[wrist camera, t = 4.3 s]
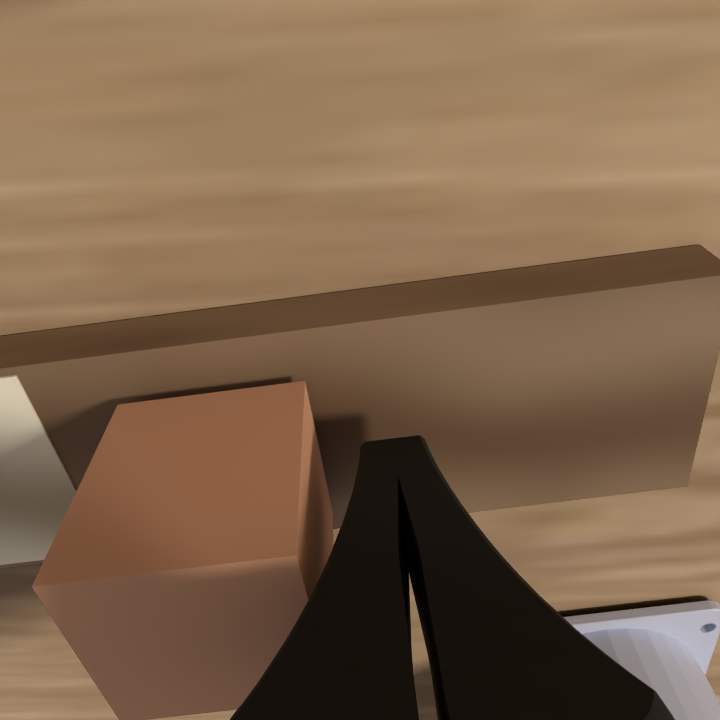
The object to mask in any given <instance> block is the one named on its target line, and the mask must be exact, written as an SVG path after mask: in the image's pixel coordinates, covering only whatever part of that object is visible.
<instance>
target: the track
mask: <svg viewBox="0 0 720 720" xmlns="http://www.w3.org/2000/svg"><path fill="white" fill-rule="evenodd" d="M719 350H720V259H718V258H717V257H716V256H714V255H713V254H712V253H710V252H709V251H708V250H706V249H705V248H704V247H702V246H701V245H692V246H685V247H677V248H669V249H662V250H654V251H646V252H639V253H631V254H624V255H616V256H608V257H601V258H593V259H585V260H578V261H570V262H563V263H555V264H547V265H540V266H532V267H524V268H517V269H509V270H502V271H494V272H486V273H479V274H471V275H463V276H456V277H448V278H440V279H433V280H425V281H418V282H410V283H402V284H395V285H387V286H379V287H372V288H364V289H357V290H349V291H341V292H334V293H326V294H318V295H311V296H303V297H296V298H288V299H280V300H273V301H265V302H257V303H250V304H242V305H235V306H227V307H219V308H212V309H204V310H196V311H189V312H181V313H173V314H166V315H158V316H151V317H143V318H135V319H128V320H120V321H112V322H105V323H97V324H90V325H82V326H74V327H67V328H59V329H51V330H44V331H36V332H29V333H21V334H13V335H6V336H0V569H4V568H12V567H21V566H29V565H37V564H42V563H43V561H44V559H45V557H46V555H47V553H48V551H49V549H50V547H51V544H52V542H53V540H54V538H55V536H56V534H57V532H58V530H59V528H60V525H61V523H62V521H63V519H64V517H65V515H66V513H67V511H68V509H69V506H70V504H71V502H72V500H73V498H74V496H75V494H76V492H77V489H78V487H79V485H80V483H81V481H82V479H83V477H84V475H85V473H86V470H87V468H88V466H89V464H90V462H91V460H92V458H93V456H94V454H95V451H96V449H97V447H98V445H99V443H100V441H101V439H102V437H103V435H104V432H105V430H106V428H107V426H108V424H109V422H110V420H111V418H112V415H113V413H114V411H115V409H116V407H117V405H119V404H126V403H134V402H142V401H150V400H158V399H166V398H174V397H182V396H189V395H197V394H205V393H213V392H221V391H229V390H237V389H244V388H252V387H260V386H268V385H276V384H284V383H292V382H299V381H305V383H306V388H307V392H308V397H309V402H310V407H311V411H312V416H313V421H314V426H315V430H316V435H317V440H318V445H319V450H320V454H321V459H322V464H323V469H324V473H325V478H326V483H327V488H328V492H329V497H330V502H331V507H332V511H333V529H337V528H341V526H342V523H343V520H344V517H345V514H346V511H347V507H348V504H349V501H350V498H351V495H352V491H353V487H354V483H355V479H356V475H357V471H358V465H359V459H360V447H361V445H362V444H363V443H364V442H366V441H375V440H383V439H391V438H400V437H408V436H416V435H420V436H422V437H423V438H425V440H426V443H427V445H428V448H429V450H430V452H431V454H432V456H433V458H434V460H435V462H436V464H437V466H438V468H439V469H440V471H441V473H442V474H443V476H444V478H445V479H446V481H447V483H448V484H449V486H450V487H451V489H452V491H453V492H454V494H455V495H456V496H457V498H458V499H459V501H460V502H461V504H462V505H463V507H464V508H465V510H466V511H467V512H468V513H470V512H478V511H487V510H495V509H503V508H511V507H520V506H528V505H536V504H545V503H553V502H561V501H570V500H578V499H586V498H595V497H603V496H611V495H620V494H628V493H636V492H645V491H653V490H661V489H669V488H678V487H686V486H687V485H688V481H689V477H690V472H691V468H692V464H693V460H694V456H695V451H696V447H697V443H698V439H699V434H700V430H701V426H702V422H703V418H704V413H705V409H706V405H707V401H708V397H709V392H710V388H711V384H712V380H713V376H714V371H715V367H716V363H717V359H718V355H719Z"/></svg>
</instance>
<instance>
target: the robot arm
mask: <svg viewBox="0 0 720 720" xmlns="http://www.w3.org/2000/svg"><path fill="white" fill-rule="evenodd" d="M409 575H410V579H411V583H412V588H413V592H414V596H415V601H416V605H417V609H418V614H419V618H420V622H421V627H422V631H423V635H424V640H425V644H426V648H427V653H428V658H429V663H430V668H431V674H432V681H433V688H434V695H435V702H436V709H437V716H438V720H720V703H719V701H718V699H717V697H716V695H715V694H714V692H713V690H712V688H711V686H710V684H709V682H708V680H707V678H706V677H705V674H706V671H707V668H708V665H709V662H710V660H711V657H712V654H713V651H714V648H715V645H716V642H717V639H718V636H719V633H720V604H719V603H718V602H716V601H712V600H707V601H698V602H689V603H681V604H672V605H663V606H654V607H646V608H637V609H628V610H620V611H611V612H602V613H594V614H585V615H576V616H567V617H562V616H561V615H560V614H559V613H558V612H557V611H556V610H555V609H554V608H552V607H551V606H550V605H549V604H548V603H547V602H546V601H545V600H544V599H543V598H542V597H540V596H539V595H538V594H537V593H536V592H535V591H534V590H533V588H532V587H531V586H530V585H529V584H528V583H527V582H526V581H525V580H524V579H523V578H522V577H521V576H520V575H519V574H518V573H517V572H516V571H515V570H514V569H513V568H512V566H511V565H510V564H509V563H508V562H507V561H506V560H505V559H504V558H503V556H502V555H501V554H500V553H499V552H498V551H497V550H496V548H495V547H494V546H493V545H492V543H491V542H490V541H489V540H488V539H487V537H486V536H485V535H484V533H483V532H482V531H481V530H480V528H479V527H478V526H477V525H476V523H475V522H474V521H473V519H472V518H471V517H470V515H469V514H468V512H467V511H466V510H465V508H464V507H463V505H462V504H461V502H460V501H459V499H458V498H457V496H456V495H455V494H454V492H453V491H452V489H451V487H450V486H449V484H448V483H447V481H446V479H445V478H444V476H443V474H442V473H441V471H440V469H439V468H438V466H437V464H436V462H435V460H434V458H433V456H432V454H431V452H430V450H429V448H428V445H427V443H426V440H425V438H423V437H422V436H420V435H416V436H408V437H400V438H391V439H383V440H375V441H366V442H364V443H363V444H362V445H361V447H360V459H359V465H358V471H357V475H356V479H355V483H354V487H353V491H352V495H351V498H350V501H349V504H348V507H347V511H346V514H345V517H344V520H343V523H342V526H341V528H340V531H339V533H338V536H337V538H336V541H335V544H334V546H333V549H332V551H331V554H330V556H329V558H328V561H327V563H326V565H325V567H324V570H323V572H322V574H321V576H320V578H319V580H318V582H317V584H316V586H315V588H314V590H313V592H312V594H311V596H310V598H309V600H308V602H307V604H306V606H305V607H304V609H303V611H302V613H301V615H300V616H299V618H298V620H297V622H296V624H295V625H294V627H293V629H292V630H291V632H290V634H289V635H288V637H287V639H286V640H285V642H284V644H283V645H282V647H281V648H280V650H279V651H278V653H277V654H276V656H275V657H274V659H273V660H272V662H271V663H270V665H269V666H268V668H267V669H266V671H265V672H264V674H263V675H262V677H261V678H260V680H259V681H258V683H257V684H256V686H255V687H254V688H253V690H252V691H251V693H250V694H249V695H248V696H247V698H246V699H245V700H244V702H243V703H242V704H241V706H240V707H239V708H238V709H237V711H236V712H235V713H234V715H233V716H232V717H231V719H230V720H419V717H418V709H417V701H416V693H415V685H414V677H413V664H412V649H411V622H410V596H409Z"/></svg>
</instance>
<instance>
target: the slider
mask: <svg viewBox="0 0 720 720" xmlns="http://www.w3.org/2000/svg"><path fill="white" fill-rule="evenodd" d="M332 549H333V511H332V507H331V502H330V497H329V492H328V488H327V483H326V478H325V473H324V469H323V464H322V459H321V454H320V450H319V445H318V440H317V435H316V430H315V426H314V421H313V416H312V411H311V407H310V402H309V397H308V392H307V388H306V383H305V381H299V382H292V383H284V384H276V385H268V386H260V387H252V388H244V389H237V390H229V391H221V392H213V393H205V394H197V395H189V396H182V397H174V398H166V399H158V400H150V401H142V402H134V403H126V404H119V405H117V407H116V409H115V411H114V413H113V415H112V418H111V420H110V422H109V424H108V426H107V428H106V430H105V432H104V435H103V437H102V439H101V441H100V443H99V445H98V447H97V449H96V451H95V454H94V456H93V458H92V460H91V462H90V464H89V466H88V468H87V470H86V473H85V475H84V477H83V479H82V481H81V483H80V485H79V487H78V489H77V492H76V494H75V496H74V498H73V500H72V502H71V504H70V506H69V509H68V511H67V513H66V515H65V517H64V519H63V521H62V523H61V525H60V528H59V530H58V532H57V534H56V536H55V538H54V540H53V542H52V544H51V547H50V549H49V551H48V553H47V555H46V557H45V559H44V561H43V563H42V566H41V568H40V570H39V572H38V574H37V576H36V578H35V580H34V583H33V585H32V589H33V590H34V592H35V593H36V595H37V596H38V598H39V599H40V601H41V602H42V604H43V605H44V607H45V608H46V610H47V611H48V613H49V614H50V616H51V617H52V619H53V620H54V622H55V623H56V625H57V626H58V628H59V629H60V631H61V632H62V634H63V635H64V637H65V638H66V640H67V641H68V643H69V645H70V646H71V648H72V649H73V651H74V652H75V654H76V655H77V657H78V658H79V660H80V661H81V663H82V664H83V666H84V667H85V669H86V670H87V672H88V673H89V675H90V676H91V678H92V679H93V681H94V682H95V684H96V685H97V687H98V688H99V690H100V691H101V693H102V694H103V696H104V697H105V699H106V701H107V702H108V704H109V705H110V707H111V708H112V710H113V711H114V713H115V714H116V716H117V717H118V719H119V720H147V719H156V718H165V717H174V716H183V715H192V714H200V713H209V712H218V711H227V710H236V709H238V708H239V707H240V706H241V704H242V703H243V702H244V700H245V699H246V698H247V696H248V695H249V694H250V693H251V691H252V690H253V688H254V687H255V686H256V684H257V683H258V681H259V680H260V678H261V677H262V675H263V674H264V672H265V671H266V669H267V668H268V666H269V665H270V663H271V662H272V660H273V659H274V657H275V656H276V654H277V653H278V651H279V650H280V648H281V647H282V645H283V644H284V642H285V640H286V639H287V637H288V635H289V634H290V632H291V630H292V629H293V627H294V625H295V624H296V622H297V620H298V618H299V616H300V615H301V613H302V611H303V609H304V607H305V606H306V604H307V602H308V600H309V598H310V596H311V594H312V592H313V590H314V588H315V586H316V584H317V582H318V580H319V578H320V576H321V574H322V572H323V570H324V567H325V565H326V563H327V561H328V558H329V556H330V554H331V551H332Z"/></svg>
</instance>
